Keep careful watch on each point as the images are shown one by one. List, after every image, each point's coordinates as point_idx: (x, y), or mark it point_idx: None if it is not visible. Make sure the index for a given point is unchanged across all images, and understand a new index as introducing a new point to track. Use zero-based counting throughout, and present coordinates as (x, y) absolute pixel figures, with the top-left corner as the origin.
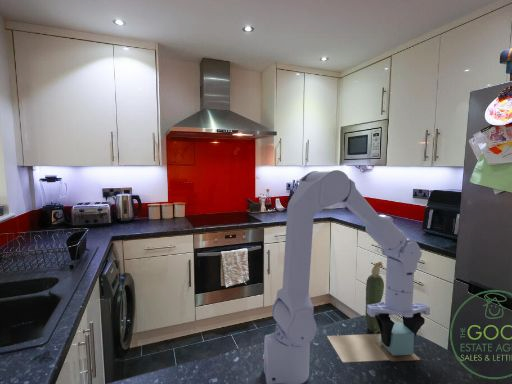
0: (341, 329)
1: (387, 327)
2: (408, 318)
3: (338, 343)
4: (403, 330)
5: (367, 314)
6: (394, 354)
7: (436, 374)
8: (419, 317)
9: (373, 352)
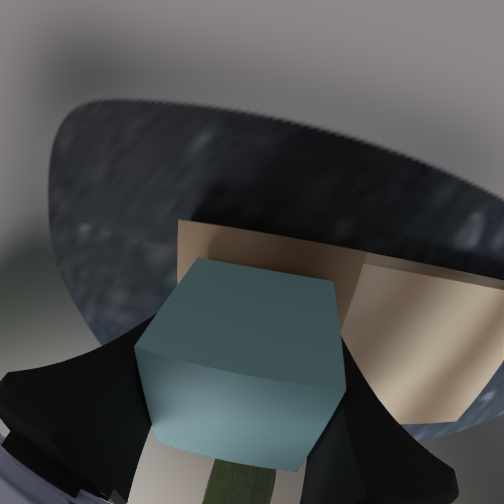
0: None
1: (409, 448)
2: (110, 461)
3: (463, 390)
4: (202, 398)
5: (271, 491)
6: (320, 283)
7: (161, 135)
8: (20, 432)
9: (393, 329)
